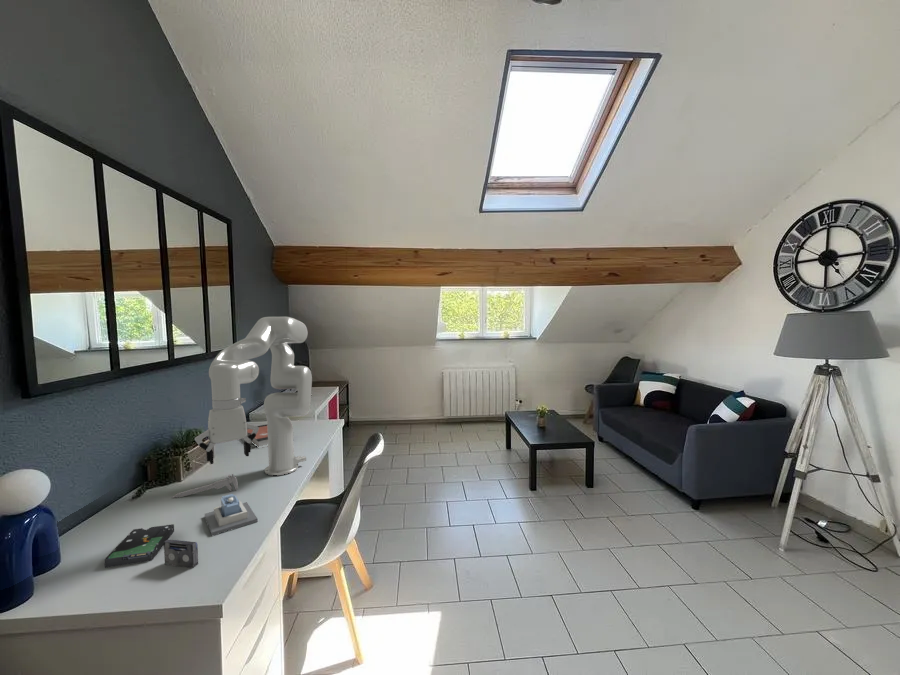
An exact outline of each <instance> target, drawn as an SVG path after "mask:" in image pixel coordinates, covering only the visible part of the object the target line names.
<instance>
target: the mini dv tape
mask: <svg viewBox="0 0 900 675" xmlns="http://www.w3.org/2000/svg"><path fill="white" fill-rule="evenodd" d="M198 549H199V548H198V542H197V541H187V540H179V539H177V540H176V539H168V540H166V541H165V542H164V545H163V551H164V552H163V553H164V557H163V558H164V565H165V566H173V567H174V566H175V567H183V568H190V569H195V568H196V566H198V565H199V550H198Z"/></svg>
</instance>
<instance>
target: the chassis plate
mask: <svg viewBox="0 0 900 675" xmlns="http://www.w3.org/2000/svg"><path fill="white" fill-rule="evenodd" d="M239 505H240V513H236V514H233V515H229V516H226V517H223V516H222V512H221V505H220V506H217V507H214V508H213V511H211V512H207V513H204V514H203V515H204V519H205V522H206V521H207V522H206V524H208V525H207V527H208V530H209V529H210V530H209V532H210V535H211V536H212V535H214V536H216V535H215V534H217V535H219V534H218V533H220V534H222V533H221V532H223V533H225V532H224V531H226V532H228V531H227V530H230V531H232V530H231V529H233V530H236V529H239V528H242V527H241V526H243V527H246V526H248V524H249V525H251V524H255V523H258V522H259V521H258V517H257V515H256V514H255V512H254V511H253V510H252V508H251V506H250V505H249V503H248V502H242V500H239ZM245 525H246V526H245ZM238 527H239V528H238ZM235 528H236V529H235Z"/></svg>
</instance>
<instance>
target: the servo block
mask: <svg viewBox="0 0 900 675" xmlns="http://www.w3.org/2000/svg"><path fill="white" fill-rule="evenodd" d="M239 501H240V500H239V499H238V497H237V495H236V494H233V493H231V494H227V495H222V496H221V498H220V506H221V512H222V516H223V517H226V516H229V515H233V514H236V513H240V505H239Z"/></svg>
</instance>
